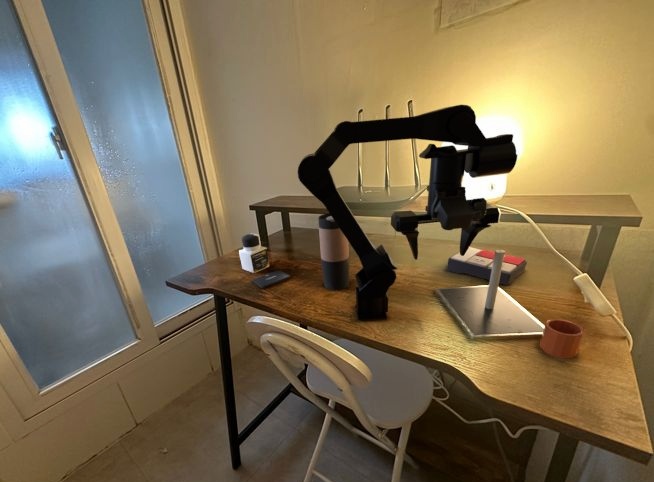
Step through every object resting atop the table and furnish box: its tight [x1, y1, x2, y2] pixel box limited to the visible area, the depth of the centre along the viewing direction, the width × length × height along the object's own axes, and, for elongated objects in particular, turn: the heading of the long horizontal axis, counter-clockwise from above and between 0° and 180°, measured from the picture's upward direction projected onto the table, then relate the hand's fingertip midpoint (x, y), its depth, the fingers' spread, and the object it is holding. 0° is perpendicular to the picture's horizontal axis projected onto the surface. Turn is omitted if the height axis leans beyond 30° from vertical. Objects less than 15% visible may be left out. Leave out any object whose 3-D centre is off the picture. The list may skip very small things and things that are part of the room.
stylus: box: [485, 249, 506, 309], centre depth 63 cm, size 2×2×13 cm
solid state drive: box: [252, 269, 291, 289], centre depth 95 cm, size 7×10×1 cm
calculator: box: [446, 246, 528, 286], centre depth 82 cm, size 11×4×15 cm
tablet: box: [434, 284, 545, 341], centre depth 66 cm, size 14×20×1 cm
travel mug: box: [317, 212, 350, 291], centre depth 83 cm, size 8×8×20 cm
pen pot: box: [539, 318, 586, 359], centre depth 52 cm, size 5×5×5 cm
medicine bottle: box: [238, 233, 270, 274], centre depth 104 cm, size 7×7×12 cm
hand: (438, 257), depth 64 cm, fingers open, 9 cm apart
